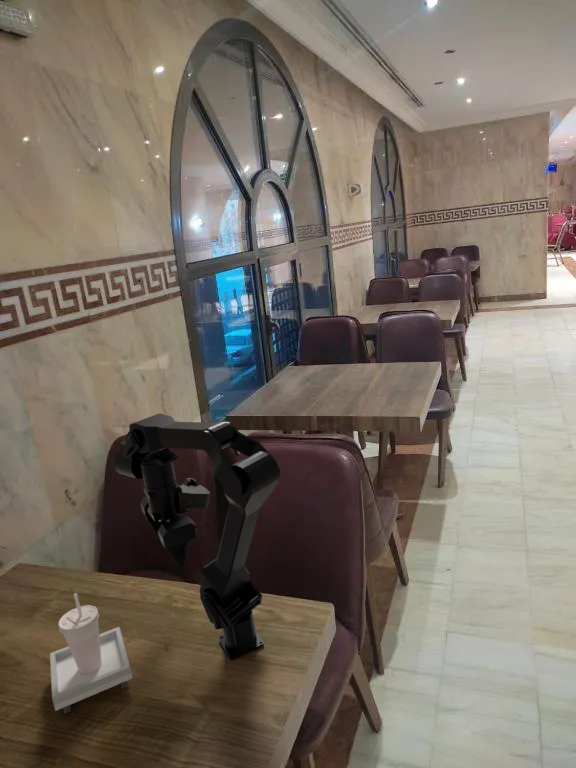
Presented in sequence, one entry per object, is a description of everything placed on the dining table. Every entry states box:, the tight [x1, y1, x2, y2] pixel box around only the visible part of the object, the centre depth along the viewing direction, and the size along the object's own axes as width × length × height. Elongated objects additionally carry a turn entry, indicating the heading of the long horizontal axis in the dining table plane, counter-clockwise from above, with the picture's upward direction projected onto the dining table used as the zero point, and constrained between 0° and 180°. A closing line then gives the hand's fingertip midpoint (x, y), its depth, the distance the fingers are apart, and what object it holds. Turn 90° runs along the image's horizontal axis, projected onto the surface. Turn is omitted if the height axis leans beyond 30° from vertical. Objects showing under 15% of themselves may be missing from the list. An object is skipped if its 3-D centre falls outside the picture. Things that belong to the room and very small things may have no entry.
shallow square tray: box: [49, 626, 133, 714], centre depth 92 cm, size 12×12×4 cm
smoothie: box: [58, 592, 102, 675], centre depth 90 cm, size 6×6×14 cm
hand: (175, 556), depth 104 cm, fingers open, 9 cm apart
